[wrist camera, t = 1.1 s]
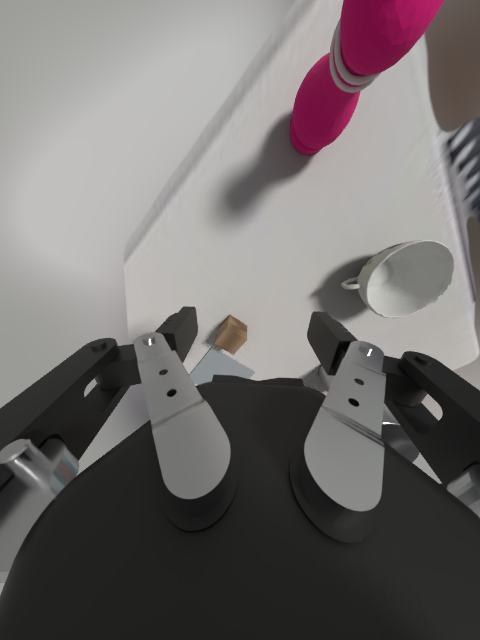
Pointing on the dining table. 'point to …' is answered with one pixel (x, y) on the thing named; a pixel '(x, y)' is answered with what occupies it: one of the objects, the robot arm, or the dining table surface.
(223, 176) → the dining table surface
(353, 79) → the pink salt grinder
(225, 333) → the walnut block
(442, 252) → the teacup
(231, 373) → the grey pad
